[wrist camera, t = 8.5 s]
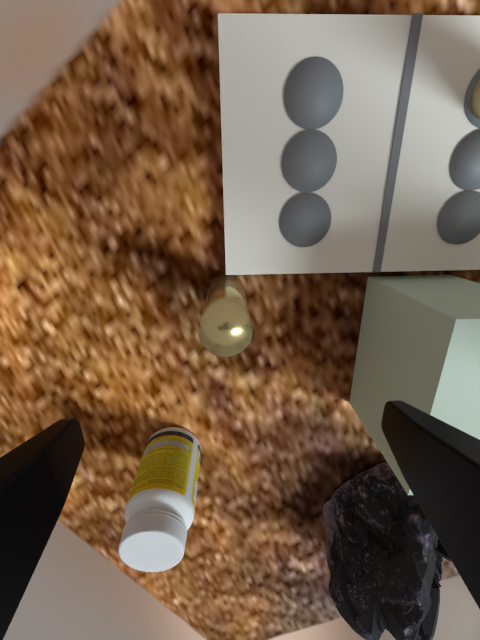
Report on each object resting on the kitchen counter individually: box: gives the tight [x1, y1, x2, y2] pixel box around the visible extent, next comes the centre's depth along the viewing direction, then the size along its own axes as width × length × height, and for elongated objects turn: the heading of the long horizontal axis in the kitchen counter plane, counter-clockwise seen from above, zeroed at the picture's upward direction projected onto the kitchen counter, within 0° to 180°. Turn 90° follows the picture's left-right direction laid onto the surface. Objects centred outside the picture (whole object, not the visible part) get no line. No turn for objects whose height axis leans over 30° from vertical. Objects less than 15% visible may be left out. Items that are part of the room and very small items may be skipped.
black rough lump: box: [323, 463, 452, 640], centre depth 25 cm, size 13×14×10 cm
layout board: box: [218, 13, 480, 275], centre depth 14 cm, size 20×13×8 cm, turn 91°
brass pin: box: [199, 274, 252, 357], centre depth 17 cm, size 3×3×7 cm
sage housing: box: [350, 275, 480, 495], centre depth 19 cm, size 6×11×8 cm, turn 1°
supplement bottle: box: [119, 427, 201, 572], centre depth 21 cm, size 5×5×8 cm
